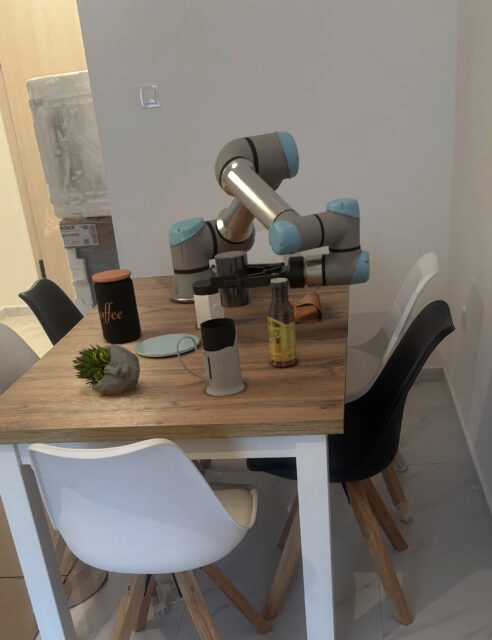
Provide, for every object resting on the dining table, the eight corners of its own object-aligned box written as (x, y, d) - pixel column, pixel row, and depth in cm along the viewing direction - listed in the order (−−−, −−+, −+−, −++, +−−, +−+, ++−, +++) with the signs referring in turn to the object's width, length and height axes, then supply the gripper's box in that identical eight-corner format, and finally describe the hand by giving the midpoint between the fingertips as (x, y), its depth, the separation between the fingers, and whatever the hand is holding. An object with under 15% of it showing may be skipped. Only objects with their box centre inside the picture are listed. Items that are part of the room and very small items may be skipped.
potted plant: (140, 385, 171) (71, 379, 167) (133, 406, 183) (69, 400, 180) (141, 335, 174) (74, 328, 170) (134, 359, 186) (71, 352, 182)
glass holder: (250, 389, 170) (243, 323, 163) (190, 404, 167) (180, 337, 159) (236, 378, 177) (229, 314, 170) (178, 392, 174) (168, 327, 167)
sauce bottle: (266, 363, 184) (258, 279, 175) (289, 357, 186) (283, 274, 176) (278, 370, 179) (271, 284, 169) (302, 364, 181) (296, 279, 171)
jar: (205, 331, 213) (200, 288, 207) (190, 326, 219) (185, 284, 214) (232, 323, 217) (227, 280, 211) (217, 318, 223) (212, 277, 217)
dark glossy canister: (223, 300, 199) (218, 252, 193) (254, 297, 197) (249, 249, 191) (217, 308, 192) (211, 259, 186) (249, 306, 190) (244, 256, 184)
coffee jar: (96, 341, 217) (83, 277, 208) (125, 331, 223) (113, 267, 214) (121, 346, 210) (108, 280, 201) (149, 335, 216) (139, 270, 208)
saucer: (146, 340, 213) (145, 335, 212) (205, 336, 209) (205, 331, 209) (128, 360, 199) (127, 355, 198) (192, 357, 195) (191, 352, 194)
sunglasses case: (290, 304, 225) (300, 283, 222) (311, 314, 227) (322, 294, 223) (291, 322, 210) (302, 300, 207) (314, 333, 211) (325, 311, 208)
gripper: (302, 298, 180) (208, 304, 185) (310, 276, 198) (224, 283, 203) (300, 265, 177) (204, 273, 182) (308, 246, 194) (220, 254, 199)
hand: (214, 278), depth 192 cm, fingers closed on dark glossy canister, 8 cm apart
